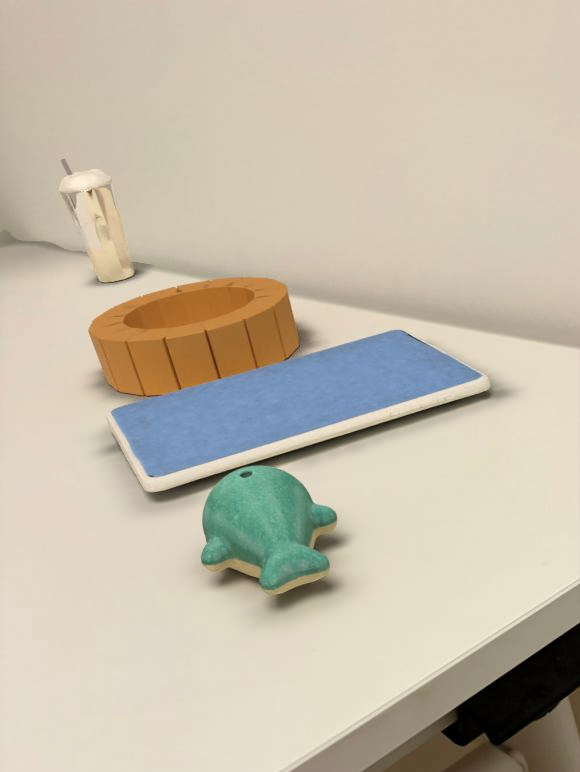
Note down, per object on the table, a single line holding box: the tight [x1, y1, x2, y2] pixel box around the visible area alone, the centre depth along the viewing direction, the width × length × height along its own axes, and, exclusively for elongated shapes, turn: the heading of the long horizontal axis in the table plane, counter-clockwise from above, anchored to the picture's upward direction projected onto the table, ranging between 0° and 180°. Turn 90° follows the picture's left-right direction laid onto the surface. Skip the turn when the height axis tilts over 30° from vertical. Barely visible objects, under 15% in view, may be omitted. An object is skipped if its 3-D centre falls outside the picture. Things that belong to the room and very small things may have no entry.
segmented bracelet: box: [87, 276, 301, 397], centre depth 62 cm, size 13×13×4 cm
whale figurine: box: [200, 465, 338, 595], centre depth 37 cm, size 6×7×4 cm
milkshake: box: [58, 158, 135, 283], centre depth 83 cm, size 4×5×10 cm
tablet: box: [106, 329, 492, 493], centre depth 52 cm, size 19×13×1 cm, turn 118°
